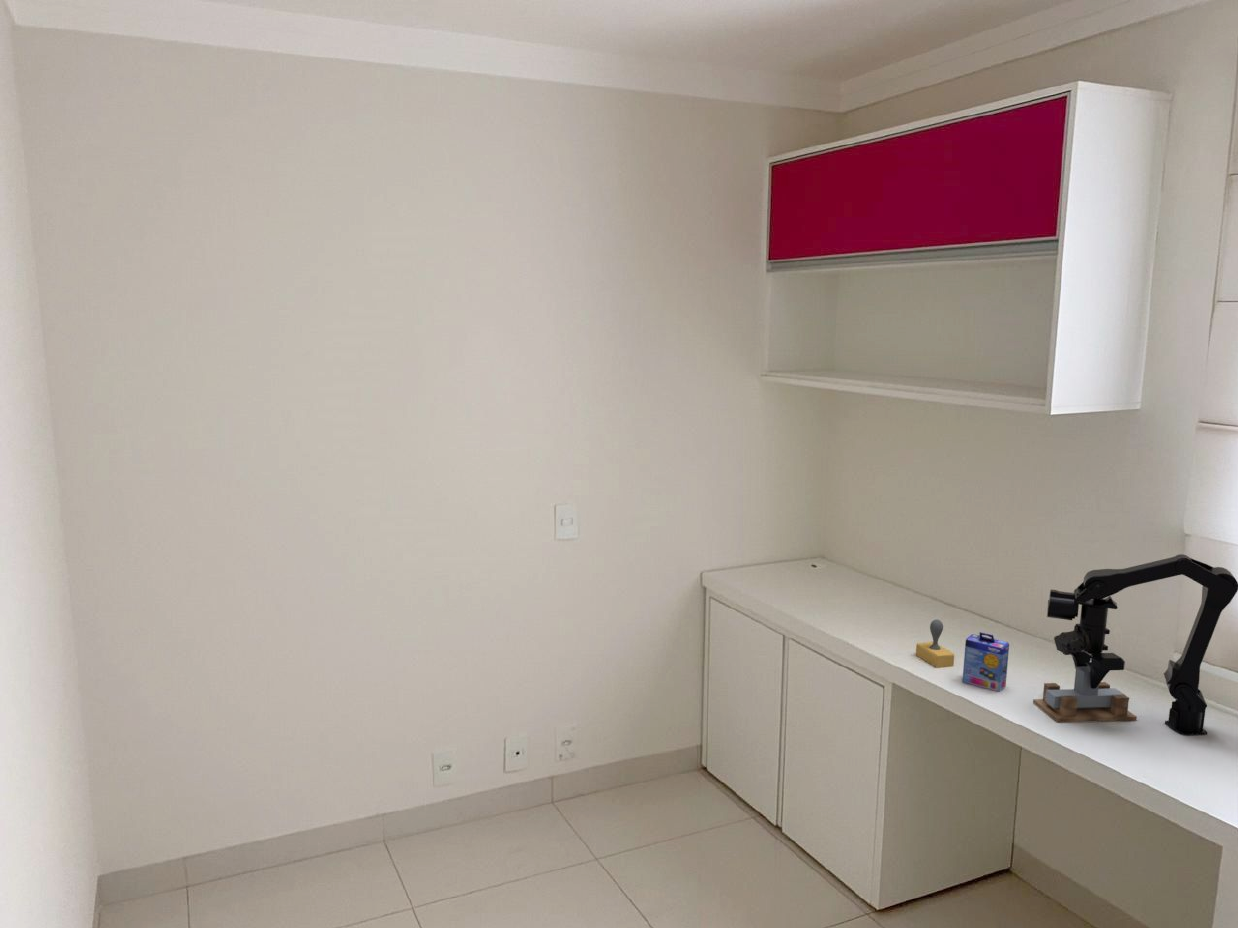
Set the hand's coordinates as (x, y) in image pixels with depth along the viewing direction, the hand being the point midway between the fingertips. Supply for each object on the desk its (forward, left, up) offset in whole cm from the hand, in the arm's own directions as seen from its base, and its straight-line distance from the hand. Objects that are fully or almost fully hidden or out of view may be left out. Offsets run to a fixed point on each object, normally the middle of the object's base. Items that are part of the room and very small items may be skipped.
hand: (1086, 683), depth 226 cm
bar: (0, 0, -5) cm, 5 cm away
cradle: (0, 0, -7) cm, 7 cm away
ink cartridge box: (+17, -18, -7) cm, 26 cm away
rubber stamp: (+23, -35, -8) cm, 42 cm away
